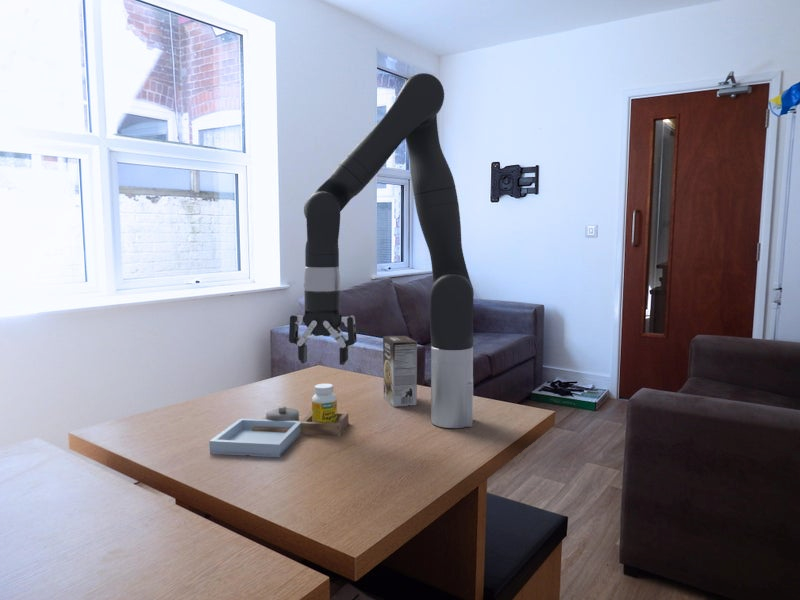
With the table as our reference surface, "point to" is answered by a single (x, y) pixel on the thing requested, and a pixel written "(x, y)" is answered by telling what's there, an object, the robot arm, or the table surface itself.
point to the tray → (255, 438)
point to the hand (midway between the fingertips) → (323, 363)
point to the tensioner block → (305, 422)
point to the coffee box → (400, 370)
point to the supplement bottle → (324, 404)
